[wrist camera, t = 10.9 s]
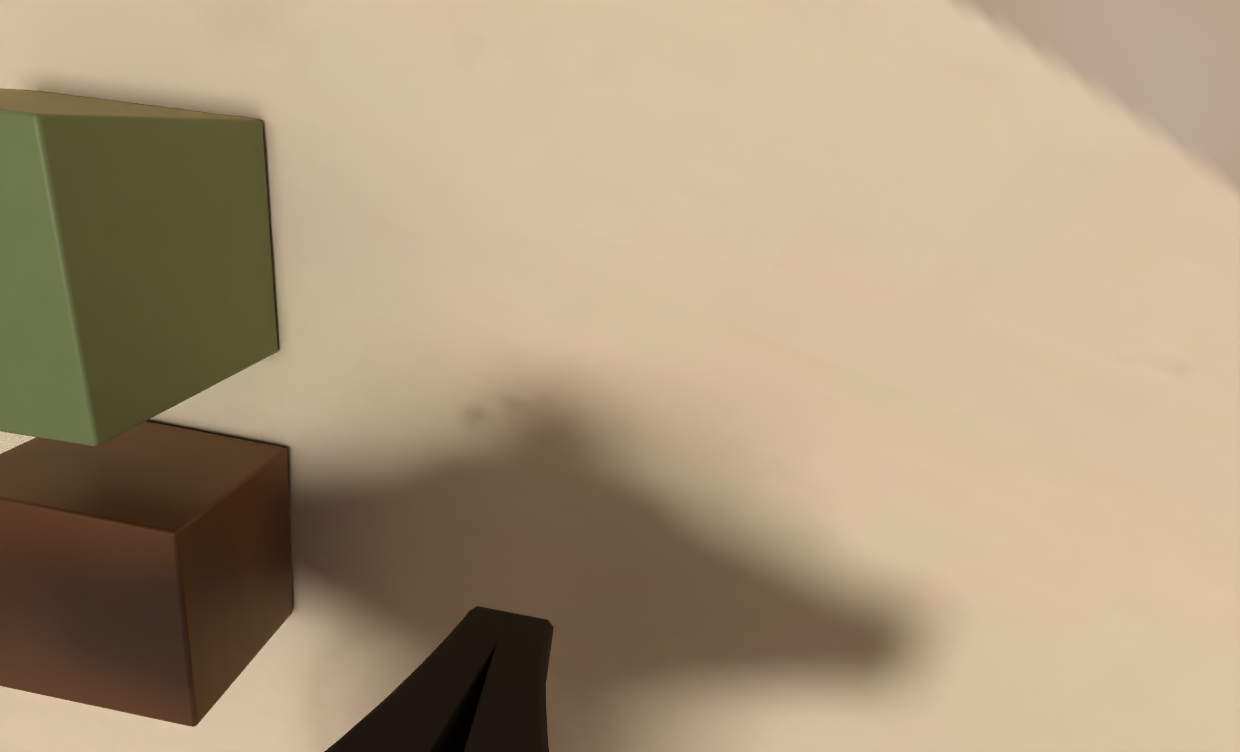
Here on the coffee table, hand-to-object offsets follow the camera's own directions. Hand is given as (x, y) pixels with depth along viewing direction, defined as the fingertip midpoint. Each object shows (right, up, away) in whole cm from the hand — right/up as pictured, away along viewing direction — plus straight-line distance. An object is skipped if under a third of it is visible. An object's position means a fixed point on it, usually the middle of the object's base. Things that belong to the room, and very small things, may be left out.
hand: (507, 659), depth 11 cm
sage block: (-6, +7, 0) cm, 10 cm away
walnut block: (-7, +2, +2) cm, 7 cm away
